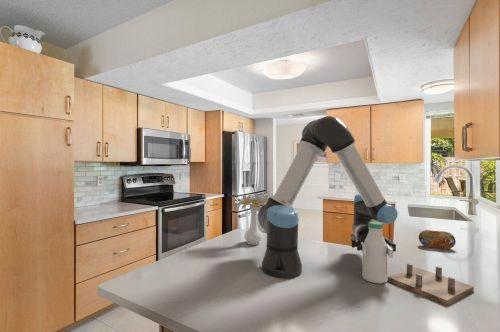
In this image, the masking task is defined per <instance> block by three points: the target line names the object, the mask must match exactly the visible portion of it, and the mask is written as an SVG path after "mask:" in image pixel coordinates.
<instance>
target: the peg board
mask: <svg viewBox="0 0 500 332" xmlns="http://www.w3.org/2000/svg"><path fill="white" fill-rule="evenodd" d="M413 266H414V265H413V264H412V263H406V270H403V271H400V272H397V273H394V274H392V275H389V276H388V275H387V279H386V282H389V281H390V282H389V283H391V282H392V283H391V284H394V285H396V284H397V285H396V286H398V287H401V286H402V287H401V288H403V287H404V289H405V290H408V289H409V290H408V291H411V292H413V291H414V293H415V292H416V293H415V294H418V293H419V294H418V295H420V294H421V296H423V295H424V296H423V297H425V296H426V297H425V298H428V299H430V300H432V299H433V301H435V302H437V303H441V304H442V305H444V306H448V305H451V304H452V303H455V302H456V301H458V300H460V299H461V298H463V297H465V296H468V295H469V294H471V293H472V292H474V289H475V286H473V285H470V284H467V283H464V282H461V281H458V280H456V279H455V278H454V277H451V276H448V277H446V276H443V267H441V266H435V272H433V271H432V272H431V271H428V270H425V269H422V268H420V267H417V266H416V267H413Z"/></svg>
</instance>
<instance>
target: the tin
mask: <svg viewBox="0 0 500 332" xmlns="http://www.w3.org/2000/svg"><path fill="white" fill-rule="evenodd" d="M418 240H419V242H420V244H421V245H422V246H424V247H426V248H431V249H440V250H441V249H442V250H450V249H452V248H454V246H455V245H456V237H455V236H454V235H453V234H452V233H450V232H448V231H446V230H445V231H444V230H443V231H442V230H431V229H430V230H429V229H425V230H422V231H420V232H419V234H418Z"/></svg>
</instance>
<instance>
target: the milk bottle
mask: <svg viewBox="0 0 500 332" xmlns="http://www.w3.org/2000/svg"><path fill="white" fill-rule="evenodd" d="M368 226H369V227H368V228H369V232H368V235H367V237H366V239H365V241H364V245H365V246H366V255H363V254H362V269H361V270H362V272H361V273H362V274H361V275H362V276H361V277H362V278H363V279H364V280H365V281H367V282H369V283H373V284H385V283H386V282H387V278H388V254H387V245H386V242H385V240H384V237H385V236H383V230H384V229H383V228H384V223H380V222H378V221H372V222H369V223H368Z"/></svg>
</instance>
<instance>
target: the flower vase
mask: <svg viewBox="0 0 500 332" xmlns="http://www.w3.org/2000/svg"><path fill="white" fill-rule="evenodd" d="M234 198H235V201H234V204H235V205H236V206H237V207H236V211H237V212H239V210H240V207H241V209H242V210H243V209H245V207H246V206H249V210H250V225H249V228H247V231H245V233H244V236H243V237H244V239H245V240H246V241H247V244H249V246H250V245H252V246H255V245H260V244H261V243H260V242H261V241H263V238H264V235H263V233H262V231H261V230H260V229H259V227H258V212H259V210H260V208H261V207H262V206H263V205H264V204H266V202H267V201H268V199H269V198H268V195H267V193H266V192H265V193H264V194H263V193H262V194H258V193H257V192H254V193H253V194H252V193H250V194H249V195H247V196H246V195H245V194H242V200H238V198H236V197H234ZM241 205H242V206H241Z"/></svg>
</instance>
